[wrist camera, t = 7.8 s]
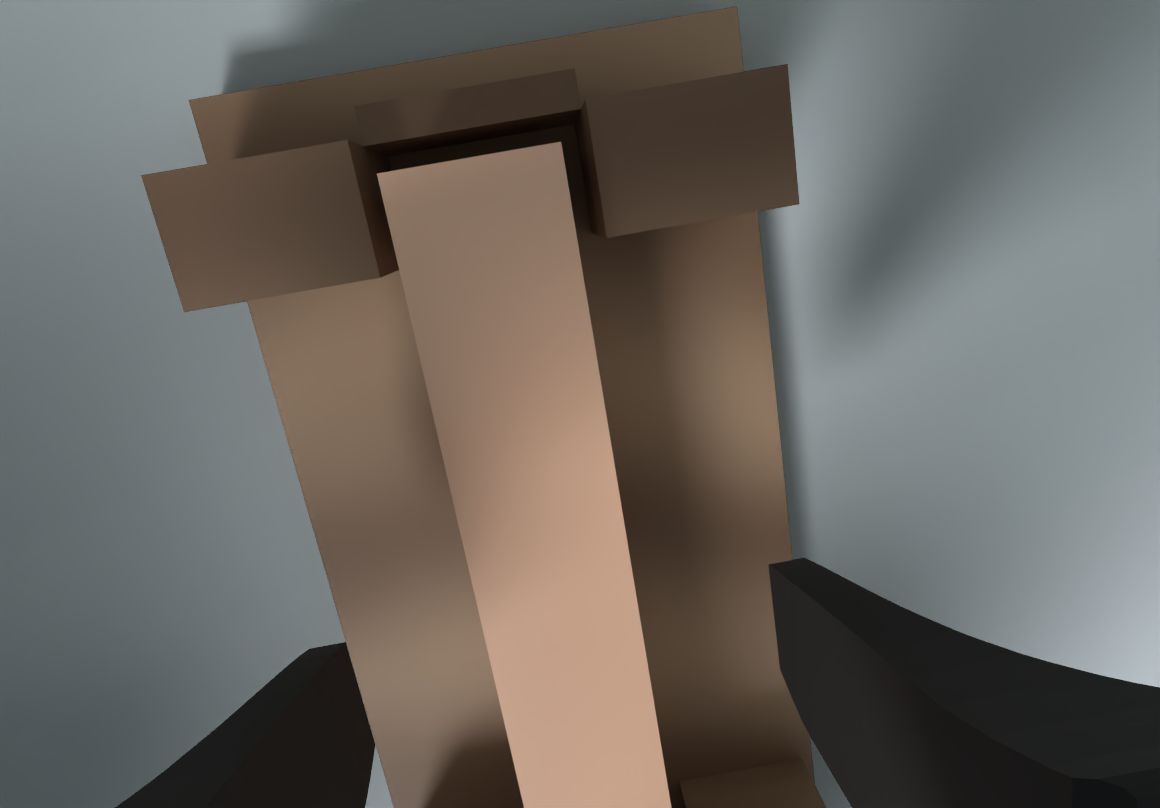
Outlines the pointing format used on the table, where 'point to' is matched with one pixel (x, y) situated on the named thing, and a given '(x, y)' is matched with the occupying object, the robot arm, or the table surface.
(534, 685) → the clay strip
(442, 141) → the strip rack
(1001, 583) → the table surface
